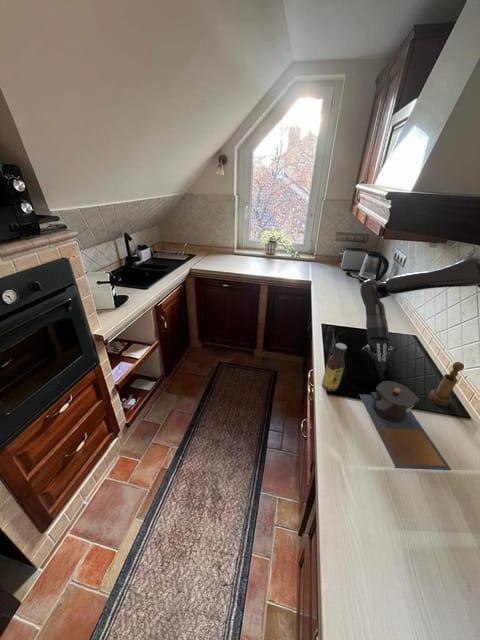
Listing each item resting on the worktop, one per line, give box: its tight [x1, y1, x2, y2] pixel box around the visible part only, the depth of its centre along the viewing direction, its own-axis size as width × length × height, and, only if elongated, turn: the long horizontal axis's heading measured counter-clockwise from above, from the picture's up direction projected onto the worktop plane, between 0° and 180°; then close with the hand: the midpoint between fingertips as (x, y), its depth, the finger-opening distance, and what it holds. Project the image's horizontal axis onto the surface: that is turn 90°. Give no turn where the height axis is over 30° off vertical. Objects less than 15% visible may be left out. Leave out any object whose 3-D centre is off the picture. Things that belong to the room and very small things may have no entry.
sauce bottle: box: [321, 342, 348, 393], centre depth 96 cm, size 7×6×20 cm
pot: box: [370, 380, 420, 423], centre depth 89 cm, size 15×12×10 cm
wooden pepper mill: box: [428, 361, 465, 407], centre depth 92 cm, size 7×6×18 cm
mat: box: [358, 393, 452, 471], centre depth 85 cm, size 16×28×1 cm, turn 179°
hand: (381, 371), depth 97 cm, fingers closed
